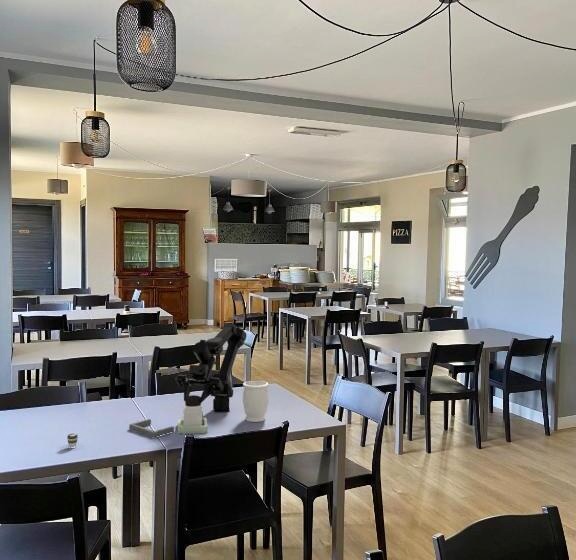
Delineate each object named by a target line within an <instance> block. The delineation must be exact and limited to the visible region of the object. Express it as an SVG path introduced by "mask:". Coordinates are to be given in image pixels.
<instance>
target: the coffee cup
mask: <svg viewBox="0 0 576 560" xmlns="http://www.w3.org/2000/svg"><path fill="white" fill-rule="evenodd" d="M67 444H68V448H69V447H74V446H76V447H77V444H78V433H76V432H75V433H69V434H67Z"/></svg>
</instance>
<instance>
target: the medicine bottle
mask: <svg viewBox="0 0 576 560" xmlns="http://www.w3.org/2000/svg"><path fill="white" fill-rule="evenodd" d="M200 398H201V395H196V394H191V395H190V394H189V396H187V397H186V398H185V401H184V402H185V405H184V406H183V419H184V422H183V426H202V424H203V418H204V417H203V416H204V415H203V414H204V413H203V411H204V410H203V406H202V403H200V402H199V401H200Z"/></svg>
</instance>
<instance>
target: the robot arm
mask: <svg viewBox="0 0 576 560" xmlns="http://www.w3.org/2000/svg"><path fill="white" fill-rule="evenodd" d="M246 339H247V332H246V331H245V330H244V329H242V328H240V327H238V326H237V325H235V324H224V326H223V328H222V329H221V330H220V331H219V332H218V333H217V334H216V335H215V336H214V337H212V338H209V339H207V340H205V339H200V340H199V341H198V342H195V344H194V345H193V346H192V352H193V353H194V355H195V356H196V359H197V360H198V361H199V363H198V365H197V364H190V365H189V368H188V374H190V375H191V377H192V378H189V376H188V375H187V374H177V376H176V377H175V379H174V380H175V381H176V383H177V385H178V386H179V387H180V388H183V401H184V402H185V398H186V397H187V396H190V394H191V392H192V390H193V389H192V387H191V385H194V386H195V385H197V386H204V387H203V391H202V393H201V395H200V397H201V398H200V401H199V402H200V403H201V404H202V403H203V402H204V401H205V400H206V399H207V398H208V397H209V396H210V397H214V398H213V399H212V409H213V411H214V413H225V412H226V413H227V412H228V413H229V412H230V411H231V410H230V398H233V396H234V389H233V387H232V385H231V384H232V382H231V379H230V375H231V372H232V369H233V366H234V363H235V360H236V357H237V353H238V350H239V349H240V348H241V347H242V346H243V345H244V343H245V341H246ZM226 343H227V348H226V350H225V353H224V357H223V359H222V362H221V366H220V367H219V368H220V369H219V371H218V373H214V374H213V373H212V370H213V368H214V365H217V361H216V357H215V356H220V355H221V354H222V352H223V350H224V345H225V344H226Z"/></svg>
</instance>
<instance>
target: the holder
mask: <svg viewBox="0 0 576 560" xmlns="http://www.w3.org/2000/svg"><path fill="white" fill-rule="evenodd" d="M150 424H151V425H152V419H151V418H148V419H145V420H141V421H137V422H132V423H129V426H128V427H129V430H130V429H131V430H130V431H132V430H134V431H133V432H135V431H136V433H138V432H139V433H138V434H141V433H142V434H141V435H144V436H147V435H148V436H147V437H150V436H151V437H150V438H152V437H154V438H153V439H156V438H155V437H157V436H160V435H163V434H166V435H168V434H167V433H170V432H173V433H175V426H169V427H164V428H161V429H158V430H152V429H149V428H147V425H148V426H150ZM143 426H144V427H143ZM170 434H171V433H170ZM163 436H164V435H163ZM160 437H161V436H160ZM157 438H158V437H157Z"/></svg>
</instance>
